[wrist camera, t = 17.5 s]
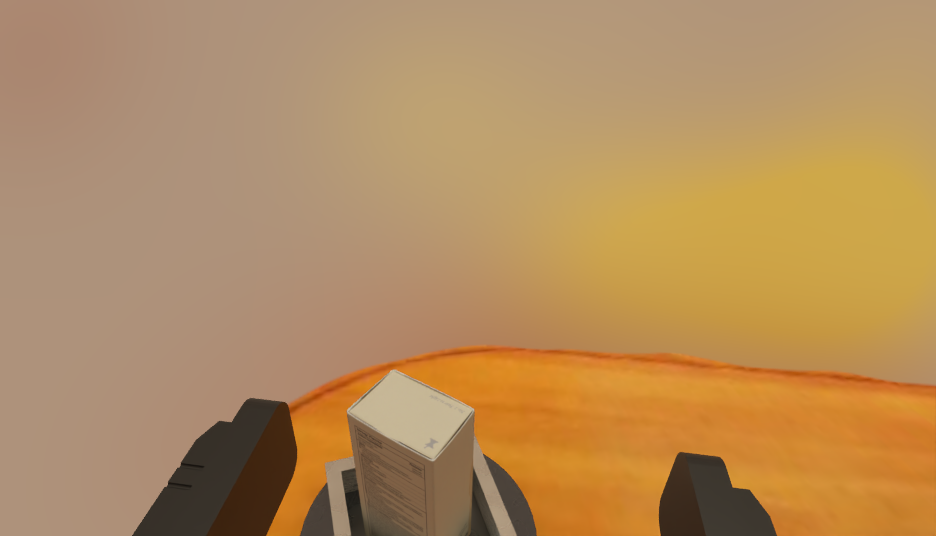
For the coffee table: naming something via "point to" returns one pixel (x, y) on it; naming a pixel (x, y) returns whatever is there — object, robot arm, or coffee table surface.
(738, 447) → the coffee table surface
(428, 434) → the skincare box
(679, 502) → the robot arm
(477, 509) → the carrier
